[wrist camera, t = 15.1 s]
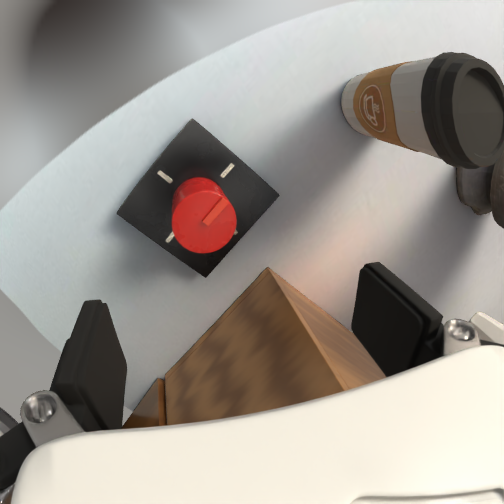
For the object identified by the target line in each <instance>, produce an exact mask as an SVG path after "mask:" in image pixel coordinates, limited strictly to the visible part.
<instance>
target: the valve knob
mask: <svg viewBox="0 0 504 504" xmlns="http://www.w3.org/2000/svg"><path fill="white" fill-rule="evenodd" d="M236 221H237V219H236V214H235V210H234V208H233V206H232V205H231V203H230V202H229V200H228V199H227V197H226V196H225V194H224V193H223V191H222V190H221V188H220V187H219V186H218V185H217V184H216V183H215V182H214V181H212V180H210V179H207V178H202V177H196V178H192V179H189V180H187V181H185V182H183V183H182V184H181V185H180V186H179V187H178V188H177V190H176V191H175V193H174V196H173V200H172V231H173V234H174V236H175V238H176V240H177V241H178V242H179V243H180V244H181V245H182V246H183V247H184V248H186V249H187V250H189V251H192V252H195V253H211V252H214V251H217V250H219V249H220V248H222V247H223V246H225V245H226V244H227V243H228V242H229V241H230V239H231V238H232V236H233V234H234V232H235V229H236Z"/></svg>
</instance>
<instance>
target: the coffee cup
mask: <svg viewBox="0 0 504 504" xmlns="http://www.w3.org/2000/svg"><path fill="white" fill-rule="evenodd" d="M341 105H342V110H343V114H344V116H345V118H346V120H347V122H348V123H349V124H350V126H351V127H352V128H353V129H354V130H356V131H357V132H359V133H360V134H364V135H367V136H370V137H374V138H377V139H379V140H382V141H385V142H388V143H391V144H395V145H398V146H401V147H404V148H407V149H410V150H413V151H416V152H423V153H426V154H428V155H431V156H434V157H437V158H440V159H442V160H443V161H445V162H446V163H447V164H449V165H451V166H454V167H463V168H465V169H477V168H479V167H488V166H490V165H492V164H494V163H495V162H496V161H497V160H498V159H499V158H500V157H501V155H502V153H503V152H504V85H503V83H502V81H501V79H500V77H499V75H498V74H497V73H496V71H495V70H494V68H493V67H491V66H490V65H489V64H488V63H487V62H485V61H483V60H480V59H476V58H475V57H474V56H471V55H468V54H466V53H454V52H448V53H442V54H440V55H439V56H437V57H434V58H429V59H423V60H419V61H412V62H405V63H400V64H396V65H392V66H388V67H384V68H380V69H376V70H373V71H372V72H368V73H365V74H361V75H357V76H356V77H354V78H352V79H351V80H350V81H349V82H348V83H347V84H346V86H345V89H344V91H343V93H342V99H341Z"/></svg>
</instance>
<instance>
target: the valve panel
mask: <svg viewBox="0 0 504 504" xmlns="http://www.w3.org/2000/svg"><path fill="white" fill-rule="evenodd" d="M196 177H202V178H207V179H210V180H212V181H214V182H215V183H216V184H217V185H218V186H219V187H220V188H221V190H222V191H223V193H224V194H225V196H226V197H227V199H228V200H229V202H230V203H231V205H232V206H233V208H234V210H235V214H236V219H237V221H236V229H235V232H234V234H233V236H232V238H231V239H230V241H229V242H228V243H227V244H226V245H225V246H223V247H222V248H220V249H219V250H217V251H214V252H211V253H195V252H192V251H189V250H187V249H186V248H184V247H183V246H182V245H181V244H180V243H179V242H178V241H177V240H176V238H175V236H174V234H173V231H172V200H173V196H174V193H175V191H176V190H177V188H178V187H179V186H180V185H181V184H182V183H183V182H185V181H187V180H189V179H192V178H196ZM279 196H280V195H279V194H278V193H277V192H276V191H275V190H274V189H273V188H272V187H271V186H269V185H268V184H267V183H266V182H265V181H264V180H263V179H262V178H261V177H260V176H258V175H257V174H256V173H255V172H254V171H253V170H252V169H251V168H250V167H248V166H247V165H246V164H245V163H244V162H243V161H242V160H241V159H239V158H238V157H237V156H236V155H235V154H234V153H233V152H231V151H230V150H229V149H228V148H227V147H226V146H225V145H223V144H222V143H221V142H220V141H219V140H218V139H216V138H215V137H214V136H213V135H212V134H211V133H209V132H208V131H207V130H206V129H205V128H204V127H202V126H201V125H200V124H199V123H198V122H196V121H195V120H194V119H191V120H190V121H189V122H188V123H187V124H186V125H185V127H184V128H183V129H182V130H181V131H180V132H179V133H178V135H177V136H176V137H175V138H174V139H173V140H172V142H171V143H170V144H169V145H168V146H167V148H166V149H165V150H164V151H163V152H162V154H161V155H160V156H159V157H158V158H157V160H156V161H155V162H154V163H153V165H152V166H151V167H150V168H149V170H148V171H147V172H146V173H145V175H144V176H143V177H142V179H141V180H140V181H139V182H138V184H137V185H136V186H135V188H134V189H133V190H132V192H131V193H130V194H129V196H128V197H127V198H126V200H125V201H124V202H123V204H122V205H121V207H120V208H119V210H118V211H117V214H118V215H119V216H120V217H122V218H123V219H124V220H126V221H127V222H128V223H130V224H131V225H132V226H134V227H135V228H137V229H138V230H139V231H141V232H142V233H143V234H145V235H146V236H147V237H149V238H150V239H152V240H153V241H154V242H156V243H157V244H159V245H160V246H161V247H163V248H164V249H165V250H167V251H168V252H170V253H171V254H172V255H174V256H175V257H177V258H178V259H180V260H181V261H182V262H184V263H185V264H187V265H188V266H189V267H191V268H192V269H194V270H195V271H197V272H198V273H200V274H201V275H202V276H204V277H205V278H206V277H207V276H208V275H209V274H210V273H211V272H212V270H213V269H214V268H215V267H216V266H217V265H218V264H219V263H220V261H221V260H222V259H223V258H224V257H225V256H226V255H227V254H228V252H229V251H230V250H231V249H232V248H233V247H234V246H235V245H236V243H237V242H238V241H239V240H240V239H241V238H242V237H243V236H244V235H245V233H246V232H247V231H248V230H249V229H250V228H251V227H252V226H253V224H254V223H255V222H256V221H257V220H258V219H259V218H260V217H261V216H262V214H263V213H264V212H265V211H266V210H267V209H268V208H269V207H270V206H271V205H272V203H273V202H274V201H275V200H276V199H277V198H278V197H279Z"/></svg>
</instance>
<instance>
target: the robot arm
mask: <svg viewBox="0 0 504 504" xmlns="http://www.w3.org/2000/svg"><path fill="white" fill-rule="evenodd" d="M442 318H443V316H442V315H441V314H440V313H439V312H438V311H437V310H436V309H435V308H433V307H432V306H431V305H430V304H429V303H428V302H427V301H425V300H424V299H423V298H422V297H421V296H420V295H418V294H417V293H416V292H415V291H414V290H413V289H411V288H410V287H409V286H408V285H407V284H405V283H404V282H403V281H402V280H401V279H399V278H398V277H397V276H396V275H395V274H393V273H392V272H391V271H390V270H388V269H387V268H386V267H385V266H384V265H382V264H381V263H380V262H375V263H369V264H365V265H364V267H363V268H362V269H361V270H360V273H359V281H358V288H357V294H356V301H355V307H354V313H353V319H352V331H353V333H354V335H355V336H356V337H357V339H358V340H359V341H360V343H361V344H362V345H363V346H364V348H365V349H366V350H367V352H368V353H369V354H370V356H371V357H372V358H373V360H374V361H375V362H376V364H377V365H378V366H379V368H380V369H381V370H382V372H383V373H384V374H385V376H386V377H387V378H384V379H381V380H378V381H375V382H372V383H369V384H366V385H363V386H359V387H356V388H353V389H350V390H346V391H343V392H339V393H336V394H333V395H329V396H325V397H322V398H318V399H314V400H310V401H306V402H302V403H298V404H294V405H290V406H285V407H281V408H276V409H272V410H267V411H262V412H257V413H251V414H246V415H241V416H235V417H229V418H223V419H216V420H209V421H202V422H194V423H185V424H176V425H167V426H157V427H145V428H131V429H122V418H123V406H124V394H125V384H126V374H127V364H126V360H125V357H124V354H123V351H122V349H121V346H120V343H119V340H118V337H117V334H116V331H115V328H114V325H113V322H112V319H111V315H110V312H109V309H108V306H107V304H106V303H102V302H101V300H100V299H99V300H89V301H85V302H84V303H83V306H82V308H81V311H80V313H79V316H78V318H77V321H76V324H75V326H74V329H73V331H72V334H71V337H70V339H68V340H67V341H66V343H65V346H64V349H63V351H62V354H61V357H60V360H59V363H58V366H57V369H56V372H55V375H54V378H53V381H52V384H51V387H50V390H49V391H47V390H43V391H38V392H35V393H33V394H31V395H30V396H29V397H27V399H26V400H25V401H24V402H23V404H22V406H21V412H20V415H21V418H22V422H21V423H19V424H18V425H16V426H15V427H14V428H12V429H11V430H9V431H8V432H6V433H5V434H3V433H2V432H1V431H0V504H504V345H503V344H499V343H494V342H490V341H485V340H481V339H480V336H479V332H478V330H477V329H476V327H475V326H474V325H472V324H471V323H469V322H467V321H465V320H461V319H451V320H449V321H447V322H446V323H445V324H444V325H443V324H442V323H441V321H442Z"/></svg>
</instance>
